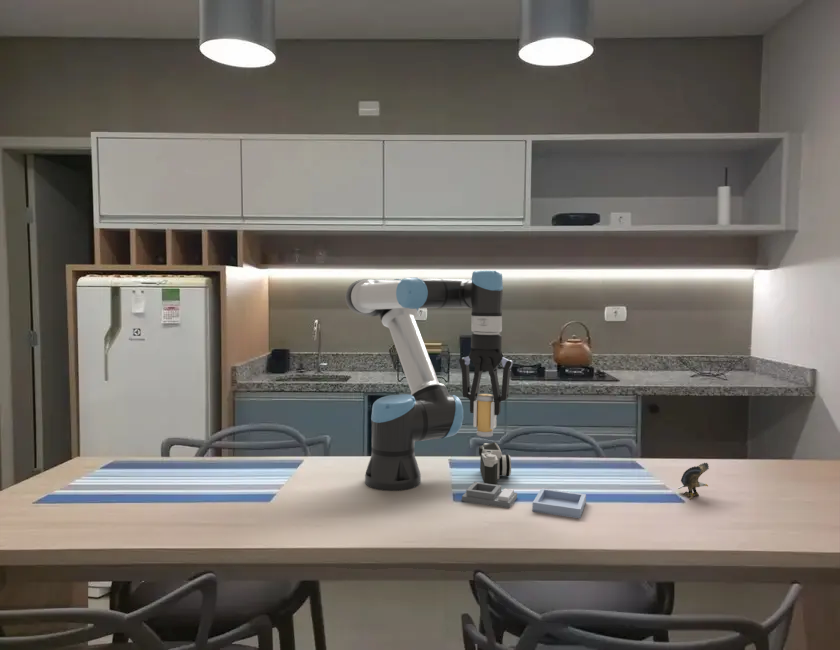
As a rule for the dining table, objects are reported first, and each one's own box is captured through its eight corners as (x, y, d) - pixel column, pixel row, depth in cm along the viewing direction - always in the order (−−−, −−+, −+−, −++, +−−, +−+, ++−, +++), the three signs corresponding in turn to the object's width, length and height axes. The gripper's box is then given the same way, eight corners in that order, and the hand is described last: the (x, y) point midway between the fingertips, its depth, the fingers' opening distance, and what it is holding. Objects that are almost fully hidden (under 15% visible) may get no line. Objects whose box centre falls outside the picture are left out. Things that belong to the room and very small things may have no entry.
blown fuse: (474, 435, 145) (475, 395, 145) (479, 432, 149) (480, 393, 148) (490, 437, 144) (491, 397, 143) (494, 434, 147) (495, 394, 147)
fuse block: (461, 502, 145) (461, 490, 145) (471, 492, 152) (471, 480, 152) (509, 509, 140) (509, 497, 140) (516, 498, 148) (517, 486, 148)
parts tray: (532, 512, 138) (532, 502, 138) (541, 497, 149) (541, 488, 148) (580, 520, 134) (580, 509, 134) (585, 504, 144) (586, 494, 144)
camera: (514, 488, 156) (515, 451, 155) (481, 487, 156) (482, 450, 156) (506, 470, 172) (507, 436, 171) (477, 469, 172) (477, 436, 172)
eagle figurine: (707, 503, 146) (708, 468, 145) (675, 498, 149) (677, 463, 149) (708, 494, 152) (709, 460, 152) (678, 489, 156) (679, 456, 155)
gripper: (449, 332, 144) (448, 426, 146) (516, 335, 138) (514, 433, 139) (458, 331, 151) (457, 420, 153) (523, 333, 145) (521, 427, 146)
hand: (484, 426), depth 146 cm, fingers closed on blown fuse, 4 cm apart
